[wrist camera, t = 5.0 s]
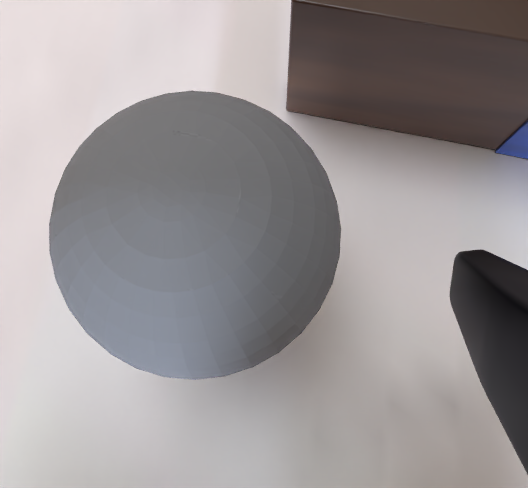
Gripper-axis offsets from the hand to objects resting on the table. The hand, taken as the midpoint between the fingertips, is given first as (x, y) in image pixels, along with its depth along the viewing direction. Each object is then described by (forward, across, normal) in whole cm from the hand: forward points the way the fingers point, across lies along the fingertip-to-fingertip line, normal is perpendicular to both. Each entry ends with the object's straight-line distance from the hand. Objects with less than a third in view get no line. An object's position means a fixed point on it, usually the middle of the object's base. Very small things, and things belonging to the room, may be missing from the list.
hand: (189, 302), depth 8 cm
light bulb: (+8, 0, +5) cm, 9 cm away
